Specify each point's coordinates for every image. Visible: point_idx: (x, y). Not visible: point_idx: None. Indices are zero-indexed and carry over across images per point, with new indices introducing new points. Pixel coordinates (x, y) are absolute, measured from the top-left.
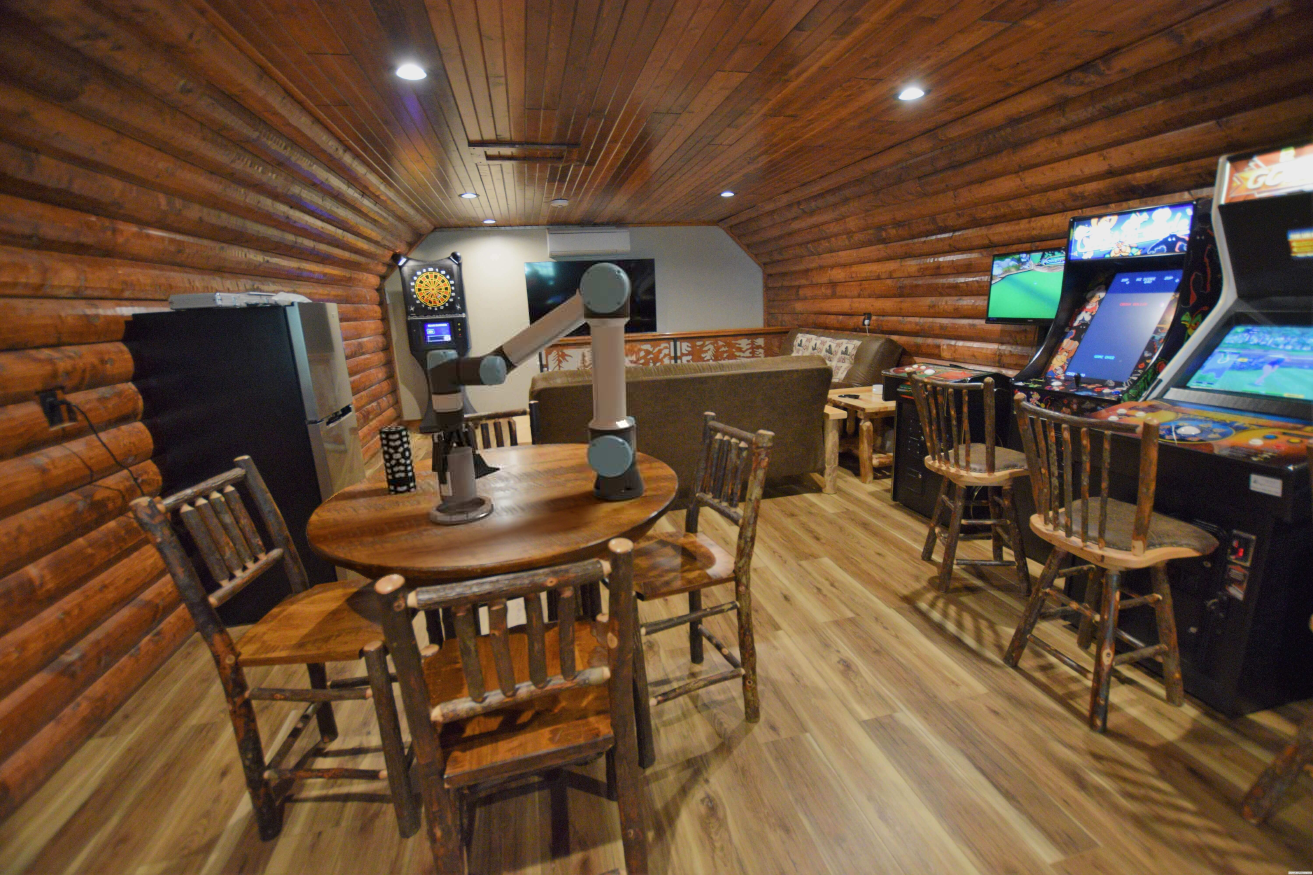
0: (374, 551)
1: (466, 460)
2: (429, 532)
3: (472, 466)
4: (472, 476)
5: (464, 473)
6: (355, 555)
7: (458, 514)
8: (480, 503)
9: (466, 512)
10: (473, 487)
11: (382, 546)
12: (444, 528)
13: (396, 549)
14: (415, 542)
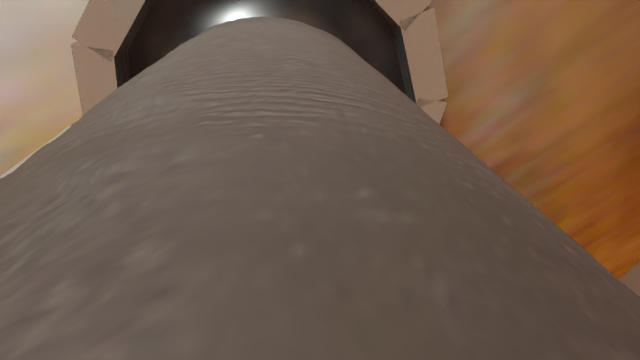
0: (606, 236)
1: (535, 237)
2: (494, 144)
3: (230, 87)
4: (283, 48)
5: (442, 127)
6: (612, 266)
7: (430, 62)
8: (147, 38)
9: (404, 23)
10: (286, 27)
11: (574, 234)
12: (463, 100)
13: (622, 181)
14: (584, 148)
